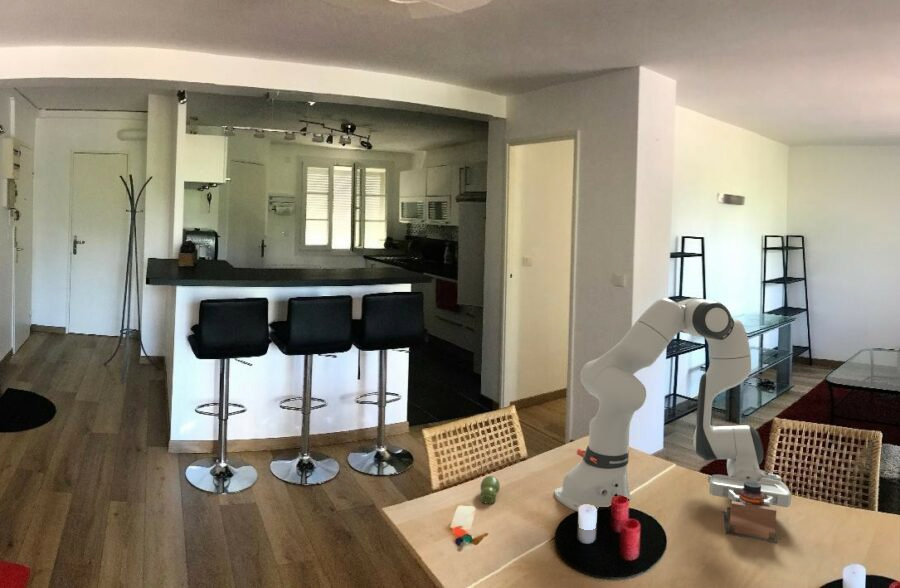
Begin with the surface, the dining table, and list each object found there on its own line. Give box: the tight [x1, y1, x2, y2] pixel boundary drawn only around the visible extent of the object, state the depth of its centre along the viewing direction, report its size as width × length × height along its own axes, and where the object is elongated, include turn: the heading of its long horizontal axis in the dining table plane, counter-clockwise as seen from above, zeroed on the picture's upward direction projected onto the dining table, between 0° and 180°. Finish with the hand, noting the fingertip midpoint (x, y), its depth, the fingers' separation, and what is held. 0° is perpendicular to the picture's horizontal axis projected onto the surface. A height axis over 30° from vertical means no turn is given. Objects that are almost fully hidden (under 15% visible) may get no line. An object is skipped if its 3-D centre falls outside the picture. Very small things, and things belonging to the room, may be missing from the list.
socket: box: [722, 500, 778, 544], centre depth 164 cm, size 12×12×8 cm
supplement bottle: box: [739, 481, 764, 506], centre depth 164 cm, size 6×6×11 cm
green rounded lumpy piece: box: [479, 475, 501, 504], centre depth 179 cm, size 6×5×10 cm
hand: (751, 503), depth 163 cm, fingers closed on supplement bottle, 6 cm apart
